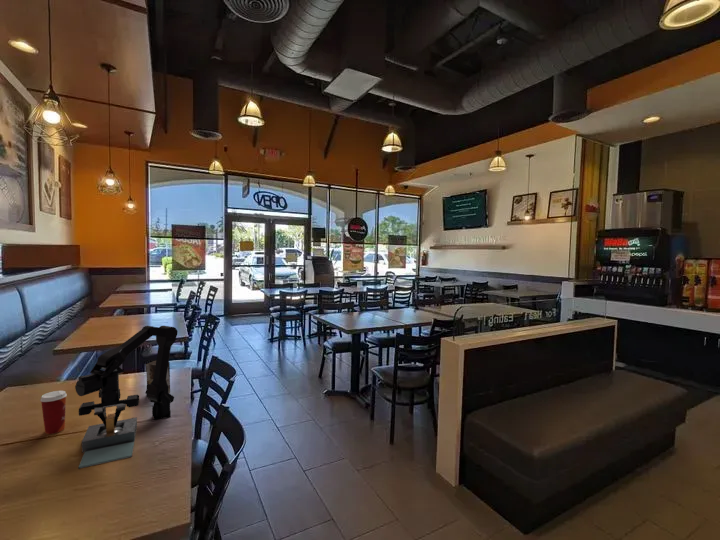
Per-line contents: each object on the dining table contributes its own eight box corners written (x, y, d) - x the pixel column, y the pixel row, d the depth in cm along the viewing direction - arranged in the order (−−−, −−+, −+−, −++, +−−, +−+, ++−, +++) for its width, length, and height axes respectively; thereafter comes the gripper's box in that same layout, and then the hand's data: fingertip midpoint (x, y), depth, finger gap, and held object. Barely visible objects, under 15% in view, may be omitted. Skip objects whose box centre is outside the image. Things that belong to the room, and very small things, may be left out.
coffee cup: (72, 428, 146) (71, 392, 145) (48, 437, 139) (46, 399, 138) (61, 423, 150) (59, 388, 149) (36, 432, 142) (35, 395, 141)
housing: (137, 426, 148) (136, 417, 147) (134, 441, 136) (134, 431, 136) (89, 435, 140) (88, 426, 140) (82, 452, 129) (81, 441, 128)
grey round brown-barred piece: (123, 432, 143) (123, 410, 142) (121, 441, 137) (120, 418, 136) (101, 436, 140) (100, 414, 139) (98, 445, 133) (97, 422, 133)
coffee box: (170, 392, 183) (170, 361, 182) (160, 397, 177) (159, 365, 176) (157, 390, 186) (156, 359, 185) (146, 394, 180) (145, 363, 179)
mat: (134, 443, 135) (134, 441, 135) (131, 456, 127) (131, 455, 126) (84, 453, 128) (84, 451, 128) (78, 468, 119) (78, 466, 119)
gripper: (139, 376, 148) (140, 412, 149) (84, 383, 140) (85, 422, 141) (137, 385, 139) (138, 424, 140) (77, 393, 130) (79, 435, 131)
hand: (111, 426), depth 138 cm, fingers closed on grey round brown-barred piece, 2 cm apart
